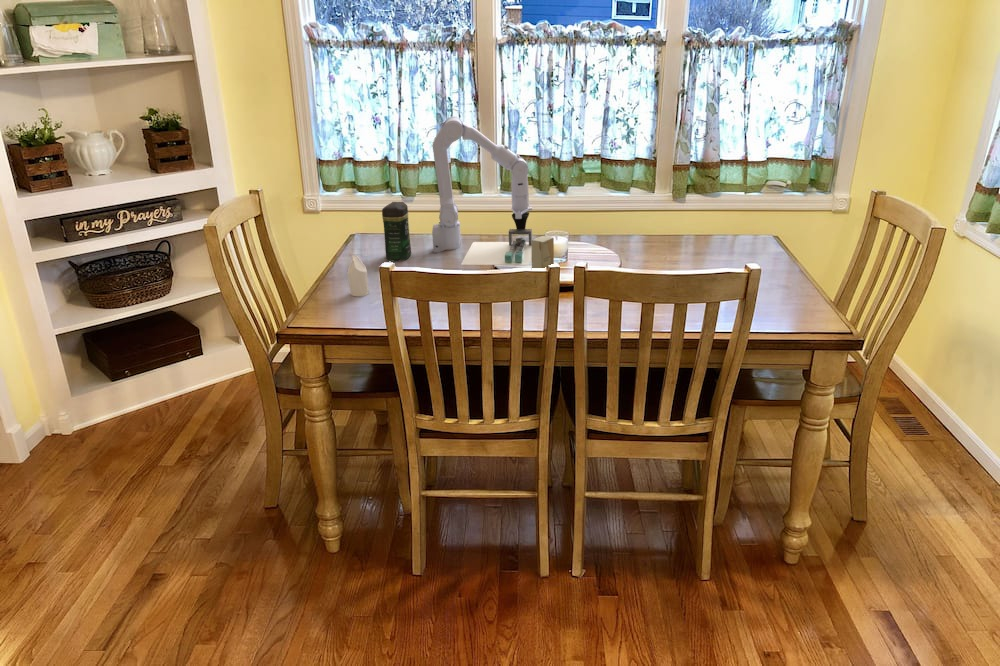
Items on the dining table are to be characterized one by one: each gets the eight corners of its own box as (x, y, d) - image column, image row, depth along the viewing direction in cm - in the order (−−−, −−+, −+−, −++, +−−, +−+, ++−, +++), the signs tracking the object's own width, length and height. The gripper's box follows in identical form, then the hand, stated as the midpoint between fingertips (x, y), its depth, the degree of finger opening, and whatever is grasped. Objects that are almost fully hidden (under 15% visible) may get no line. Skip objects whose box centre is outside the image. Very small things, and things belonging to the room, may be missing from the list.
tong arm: (512, 246, 267) (511, 240, 266) (518, 246, 267) (518, 240, 266) (505, 262, 252) (504, 255, 251) (511, 262, 252) (511, 255, 251)
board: (461, 268, 253) (460, 264, 252) (473, 245, 276) (473, 241, 275) (529, 268, 250) (529, 264, 249) (536, 245, 273) (536, 241, 272)
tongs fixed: (516, 244, 271) (516, 237, 270) (528, 244, 270) (527, 237, 269) (509, 262, 252) (509, 255, 251) (522, 262, 252) (521, 255, 251)
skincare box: (543, 281, 238) (542, 242, 234) (531, 278, 241) (530, 240, 236) (554, 275, 243) (554, 236, 238) (543, 272, 246) (542, 234, 241)
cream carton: (361, 257, 227) (342, 258, 228) (366, 296, 232) (347, 296, 233) (367, 251, 233) (348, 251, 233) (371, 289, 238) (353, 289, 238)
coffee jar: (406, 262, 261) (401, 207, 254) (383, 261, 262) (378, 207, 255) (414, 253, 270) (409, 199, 262) (392, 253, 271) (387, 199, 264)
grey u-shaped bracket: (510, 242, 272) (509, 229, 270) (532, 242, 271) (531, 229, 269) (509, 245, 269) (508, 231, 267) (531, 245, 268) (530, 231, 266)
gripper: (529, 200, 259) (530, 240, 264) (533, 189, 272) (534, 228, 277) (508, 200, 260) (509, 240, 265) (513, 190, 273) (514, 228, 278)
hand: (521, 234), depth 271 cm, fingers closed
